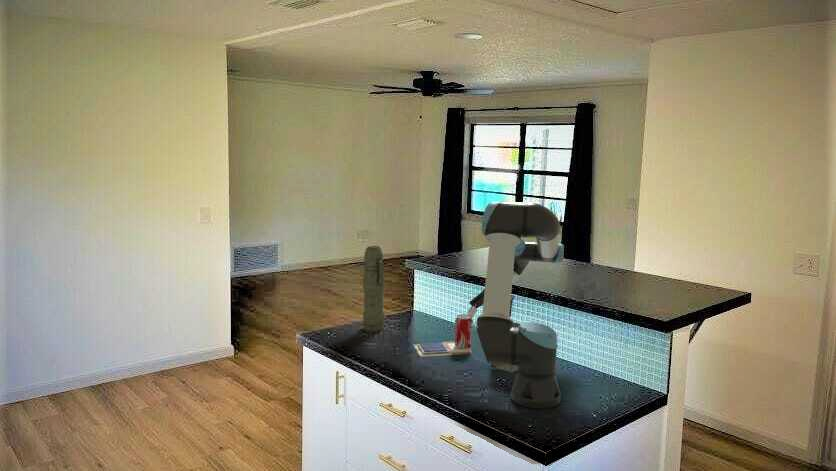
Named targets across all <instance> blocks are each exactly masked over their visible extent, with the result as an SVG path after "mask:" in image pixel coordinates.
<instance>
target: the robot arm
mask: <svg viewBox="0 0 836 471" xmlns="http://www.w3.org/2000/svg"><path fill="white" fill-rule="evenodd" d="M481 223H482V224H481V234H482V235H483V236H484V237H485V241H486V242H487V243H488V245H489V246H488V255H487V264H486V274H485V283H484V284H485V285H484V289H483V290H482V291H480V293H478V294H477V295H476V296H474V297H473V298H472V299H471V300H470V301H468V304H470V306H471V307H470V308H469V310H468V312H467V315H470V316H472V319H473V318H474V316H475V315H476V313H477V312H478V308H480V307H482V313H481V314H480V315H478V316H477V317H476V322H473V324H472V325H471V329H470V343H471V352H472V354H471V355H472V358H473V359H474V360H475V361H477V362H483V363H486V364H489V363H490V364H491V363H499V364H508V365H517V366H518V370H517V373H516V376H515V378H514V382H513V383H512V387H511V391H510V399H511V400H512V401H513V402H514V403H515V404H517V405H520V406H523V407H527V408H530V409H551V408H553V407H556V406H558V405H560V403H561V394H562V393H561V390H560V386H559V384H558V380H557V376H556V375H557V374H556V371H557V350H558V346H559V345H558V335H557V332H556V330H555V329H553V327H550V326H548V325H547V324H546V325H545V324H542V323H539V322H535V321H534V322H532V321H528V322H527V321H524V322H521V323H519V324H520V325H519V328H518V327H513V322H514V320H513V319H512V318H511V317H512V312H513V311H512V309H513V301H514V299H515V296H514V294H513V295H511V293H512V291H513V289H512V279H513V275H520V274H521V275H522V274H523V273H524V270H525V269H526V267H528V265H529V264H530V262H539V263H552V264H556V263H563V262H564V254H565V253H564V250H565V249H564V248H565V246H564V244H563V243H558V242H559V240H558V236H559V233H560V230H561V224H560V220H559V218H558V217H557V215H556V214H555V213H554V212H553V211H552V210H551V209H549V208H548V207H546V206H544V205H541V204H539V203H537V202H518V201H517V202H516V201H502V200H501V201H490V202H489V203H488V204H487V205H486V206H485V210H484V212H483V216H482V222H481ZM523 238H532V239H533V238H535V240H536V241H535V242H534V241H532V242H531V241H525V240H524V239H523Z"/></svg>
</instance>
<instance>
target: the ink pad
mask: <svg viewBox="0 0 836 471" xmlns="http://www.w3.org/2000/svg"><path fill="white" fill-rule="evenodd" d="M417 344H418V347H419V348H420V350H421V352H422V353H423V355H424V354H440V353H450V351H449V350H448V348H447V347H446V346H445V344H444V343H443V342H442V341H441V342H425V343H417Z"/></svg>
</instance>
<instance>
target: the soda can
mask: <svg viewBox="0 0 836 471" xmlns="http://www.w3.org/2000/svg"><path fill="white" fill-rule="evenodd" d="M472 324H474V320H473V318H472V316H470V315H468V314H464V313H463V314H458V315H456V318H455V320H454V338H453V339H454V340H453V342H454V341H455V346H457V347H458V348H460V349H468V348H470V347H471V343H470V329H471V325H472Z"/></svg>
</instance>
